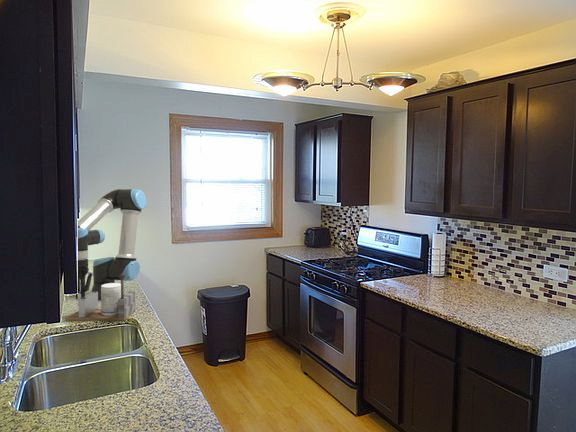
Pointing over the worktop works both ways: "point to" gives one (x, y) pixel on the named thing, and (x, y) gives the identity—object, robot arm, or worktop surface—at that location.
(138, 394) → the worktop surface
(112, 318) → the vise bed
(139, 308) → the worktop surface
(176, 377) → the worktop surface
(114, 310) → the supplement tub
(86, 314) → the front jaw
